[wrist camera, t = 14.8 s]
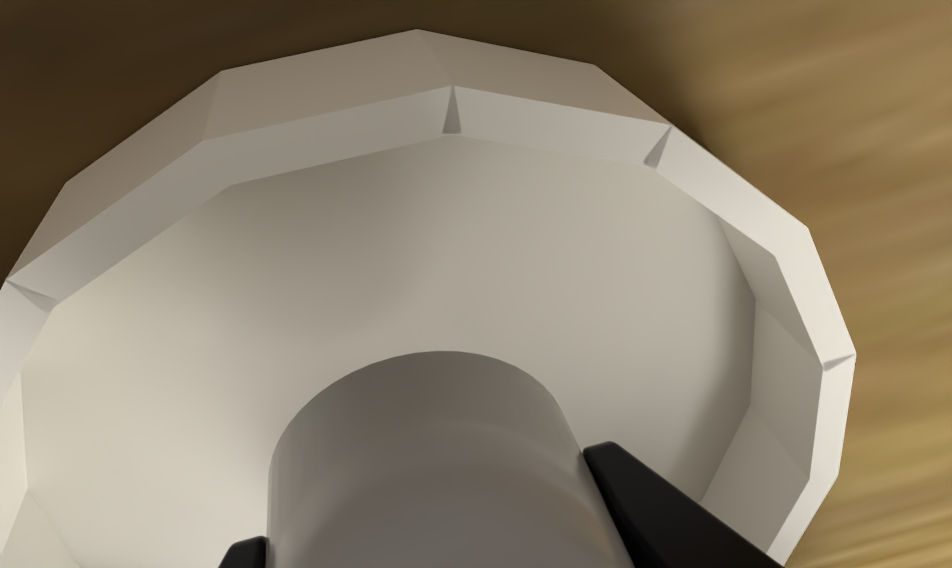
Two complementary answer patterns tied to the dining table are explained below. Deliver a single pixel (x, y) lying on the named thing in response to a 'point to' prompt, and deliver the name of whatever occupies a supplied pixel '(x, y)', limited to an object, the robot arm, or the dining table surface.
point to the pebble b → (436, 474)
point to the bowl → (403, 295)
